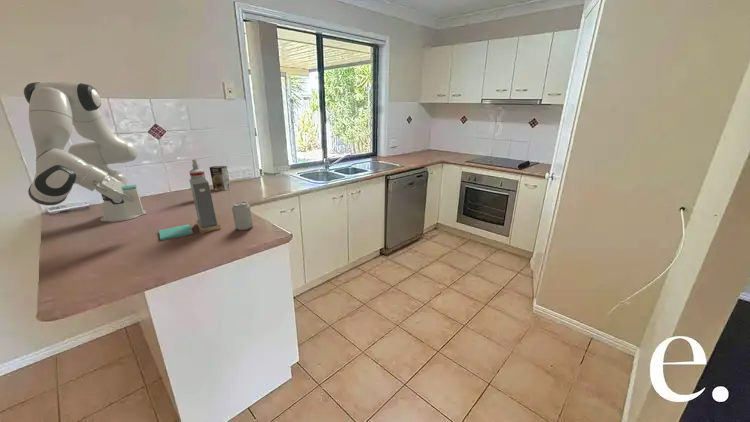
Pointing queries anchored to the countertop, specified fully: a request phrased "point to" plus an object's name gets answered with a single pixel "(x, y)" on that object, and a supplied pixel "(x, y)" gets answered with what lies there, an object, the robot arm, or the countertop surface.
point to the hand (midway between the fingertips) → (133, 198)
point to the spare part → (136, 205)
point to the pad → (175, 232)
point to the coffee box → (220, 177)
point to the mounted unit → (204, 205)
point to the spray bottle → (196, 171)
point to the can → (242, 215)
